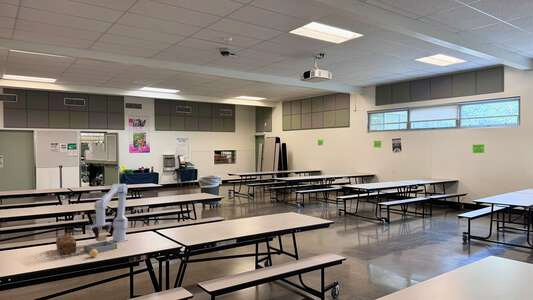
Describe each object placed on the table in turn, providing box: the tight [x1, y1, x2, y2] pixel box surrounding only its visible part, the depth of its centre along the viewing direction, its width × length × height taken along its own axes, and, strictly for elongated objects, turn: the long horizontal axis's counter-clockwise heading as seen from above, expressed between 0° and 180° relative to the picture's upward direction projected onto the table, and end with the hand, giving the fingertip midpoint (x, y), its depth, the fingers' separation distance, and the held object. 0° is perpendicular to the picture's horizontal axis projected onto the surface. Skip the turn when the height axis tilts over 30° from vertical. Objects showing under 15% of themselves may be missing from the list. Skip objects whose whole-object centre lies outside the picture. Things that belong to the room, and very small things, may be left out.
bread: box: [55, 234, 77, 256], centre depth 240 cm, size 19×11×10 cm, turn 36°
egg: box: [88, 249, 99, 258], centre depth 227 cm, size 5×5×5 cm
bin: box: [83, 240, 118, 254], centre depth 244 cm, size 14×16×4 cm
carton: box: [95, 228, 107, 242], centre depth 244 cm, size 5×5×7 cm
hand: (100, 236), depth 244 cm, fingers closed on carton, 5 cm apart
